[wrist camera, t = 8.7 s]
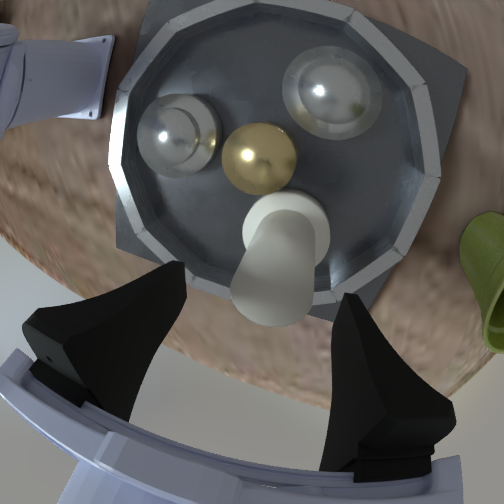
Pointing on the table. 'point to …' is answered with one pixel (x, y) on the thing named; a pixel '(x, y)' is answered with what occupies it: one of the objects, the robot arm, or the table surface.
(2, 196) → the table surface
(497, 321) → the plant pot
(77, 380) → the robot arm
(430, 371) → the table surface
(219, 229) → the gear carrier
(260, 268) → the white mushroom peg
